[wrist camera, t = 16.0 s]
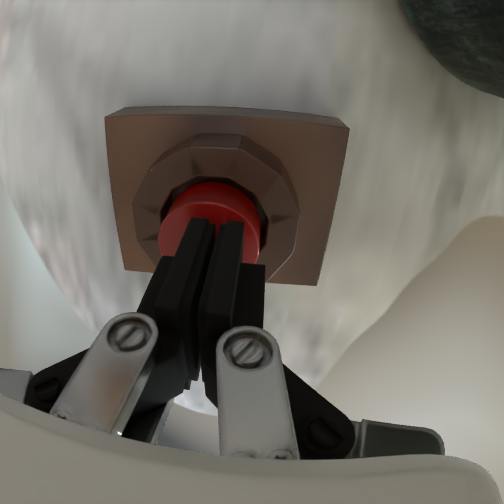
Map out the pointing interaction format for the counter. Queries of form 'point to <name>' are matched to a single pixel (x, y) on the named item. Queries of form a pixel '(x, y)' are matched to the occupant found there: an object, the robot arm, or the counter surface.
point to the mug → (464, 38)
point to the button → (211, 216)
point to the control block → (228, 177)
